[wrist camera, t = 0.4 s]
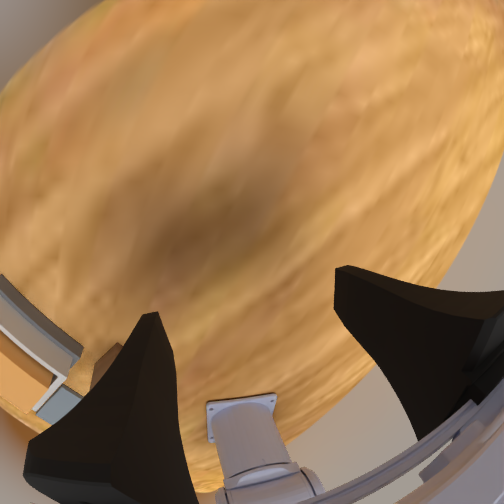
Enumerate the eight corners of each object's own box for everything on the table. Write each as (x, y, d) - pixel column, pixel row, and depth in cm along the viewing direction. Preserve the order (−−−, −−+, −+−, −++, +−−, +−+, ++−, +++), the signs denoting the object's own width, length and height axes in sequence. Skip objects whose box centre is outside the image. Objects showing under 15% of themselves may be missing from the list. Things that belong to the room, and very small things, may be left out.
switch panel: (83, 346, 20) (74, 378, 16) (46, 388, 20) (38, 415, 17) (1, 273, 15) (-21, 297, 12) (-22, 332, 16) (-37, 355, 12)
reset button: (54, 371, 16) (48, 389, 14) (31, 399, 16) (26, 414, 15) (-10, 318, 13) (-20, 332, 11) (-23, 356, 13) (-31, 369, 11)
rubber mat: (135, 424, 25) (135, 427, 25) (98, 445, 26) (98, 448, 25) (62, 383, 21) (61, 387, 20) (36, 412, 21) (35, 414, 21)
